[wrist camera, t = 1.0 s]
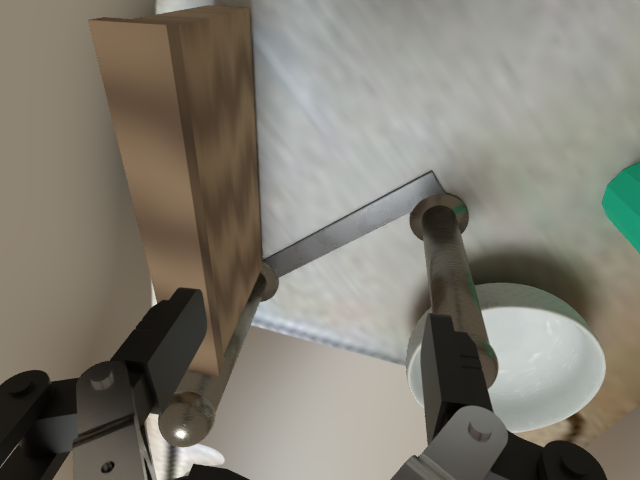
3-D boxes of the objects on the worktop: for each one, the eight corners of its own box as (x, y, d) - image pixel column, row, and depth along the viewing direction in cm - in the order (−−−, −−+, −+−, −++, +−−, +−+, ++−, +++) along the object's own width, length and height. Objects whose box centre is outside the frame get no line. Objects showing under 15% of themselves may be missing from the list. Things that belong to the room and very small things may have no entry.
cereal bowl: (548, 384, 45) (570, 445, 40) (398, 368, 48) (398, 423, 42) (603, 263, 36) (644, 319, 30) (413, 250, 38) (417, 300, 33)
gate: (264, 269, 41) (219, 376, 30) (230, 265, 42) (173, 369, 31) (253, 4, 28) (166, 25, 17) (204, 1, 29) (87, 20, 18)
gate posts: (212, 266, 43) (115, 425, 28) (446, 164, 33) (492, 323, 18) (250, 311, 46) (180, 477, 31) (476, 229, 36) (536, 414, 21)
